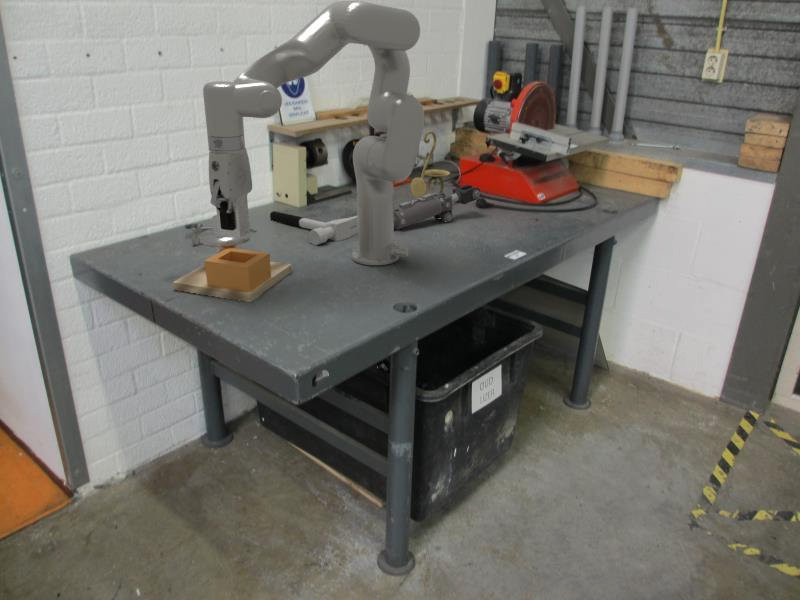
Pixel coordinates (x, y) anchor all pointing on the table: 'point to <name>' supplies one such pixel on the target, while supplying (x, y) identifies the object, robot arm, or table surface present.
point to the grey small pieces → (198, 230)
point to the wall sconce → (428, 174)
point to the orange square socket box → (232, 269)
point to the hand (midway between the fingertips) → (233, 225)
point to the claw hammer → (320, 227)
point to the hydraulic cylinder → (433, 206)
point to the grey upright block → (237, 218)
